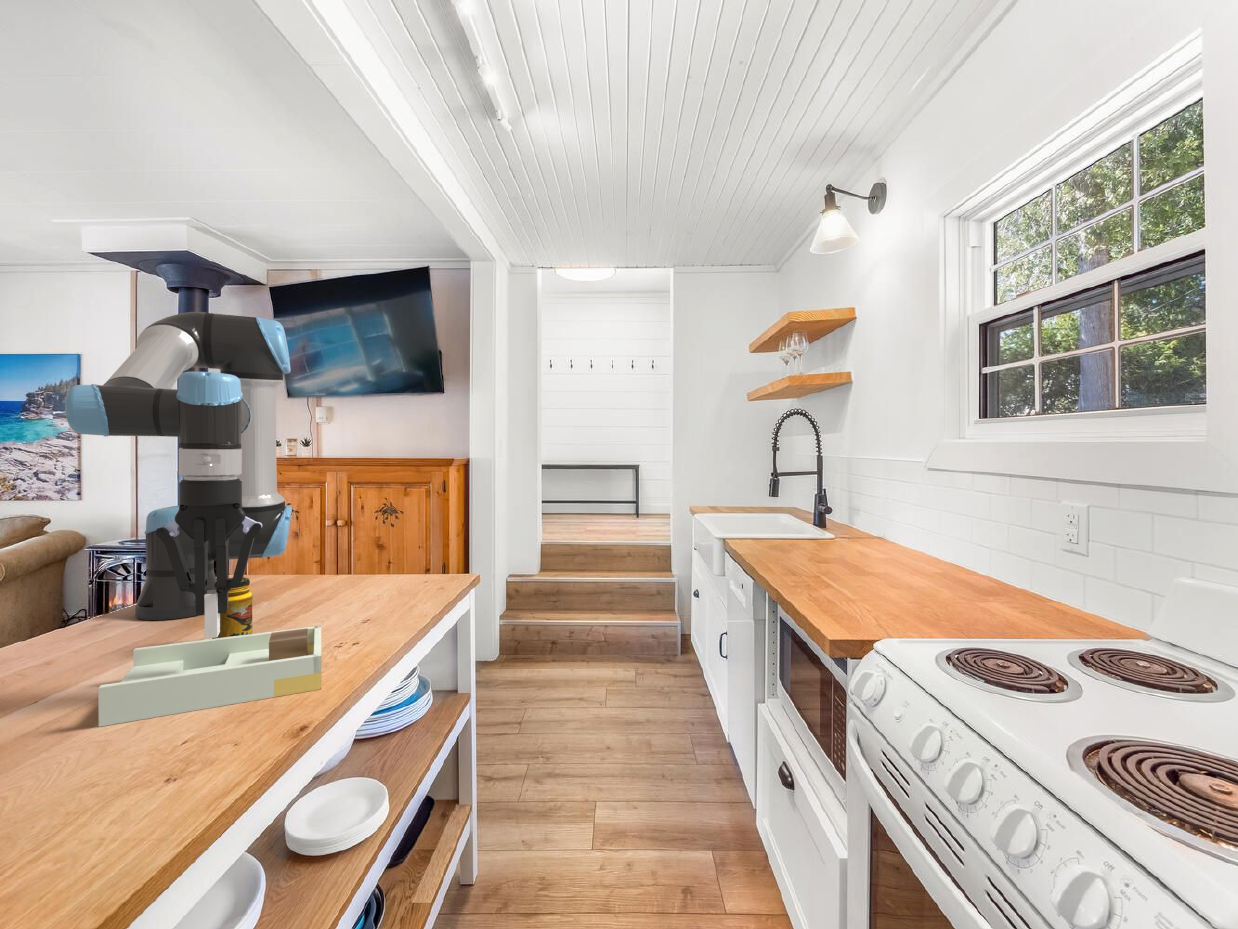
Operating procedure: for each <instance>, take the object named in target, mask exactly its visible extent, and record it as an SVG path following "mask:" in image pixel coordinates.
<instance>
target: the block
mask: <svg viewBox="0 0 1238 929" xmlns="http://www.w3.org/2000/svg"><path fill="white" fill-rule="evenodd" d="M305 628H306V627H305ZM297 629H298V628H297ZM289 630H290V629H289ZM280 631H281V632H274V631H272V632H273V633H271V637H270V640H269V661H273V660H280V659H287V658H294V657H301V656H308V628H306V629H298V630H290V631H282V630H280Z"/></svg>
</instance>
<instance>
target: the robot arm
mask: <svg viewBox="0 0 1238 929" xmlns="http://www.w3.org/2000/svg"><path fill="white" fill-rule="evenodd" d="M191 368H200V369H201V368H202V369H213V370H219V371H220V372H212V371H211V372H210V371H187V370H190V369H191ZM291 368H292V367H291V358H290V352H289V347H288V342H287V336H286V332H285V328H284V326H283V325H282V323H280V322H279V321H278V320H274V319H268V318H262V317H259V316H255V317H254V316H243V315H235V314H233V315H232V314H225V313H224V314H223V313H213V312H206V311H205V312H204V311H189V312H181V313H177V314H173V315H169V316H166V317H164V318H161V319H159V320H157V321H155V322H153V323H151V324H150V325H148V326H146V327H145V328H144V329H143V330H142V331H141V332H140V334H139V336H138V337H137V340H136V348H135V349H134V351H132V353H130V355H128V357H127V358H126V360H125V361H124V362H122V364H121V365H120V366H119V367H118V368H117V369H116V371H114V373H113V374H112V375H111V376H110V377H109V378H108V379H107V380H106V381H105V382H104V383H103V384H102V385H101V384H100V385H99V384H96V383H91V384H77V385H73V386H72V387H71V388H69V390H68V391H67V394H66V397H65V401H64V402H65V403H64V408H65V409H64V410H65V417H66V421H67V423H68V426H69V428H71V430H72V431H74V432H75V433H76V434H80V435H91V436H103V437H173V438H175V437H176V438H177V437H178V475H179V476H181V477H183V479H181V480H180V481H179V482H178V505H172V506H167V507H162V508H157V509H153V510H152V511H150V512H149V513H148V514H147V516H146V523H145V531H144V535H145V569H146V570H145V575H146V576H145V577H146V578H145V581H144V583H143V586H142V589H141V591H140V595H139V596H138V599H137V601H136V604H135V608H134V609H135V615H134V616H135V618H136V619H138V620H145V621H164V620H165V621H166V620H176V619H183V618H185V619H186V618H190V617H194V616H204V640H208V639H212V638H216V637H218V635H219V633H220V613H226V611H227V609H228V590H230V589H232V588H234V587H238V586H240V584H241V582H242V580H243V578H245V573H246V570H247V565H248V562H249V559H264V558H270V557H278V556H282V555H283V554H284V553H285V552H286V549H287V546H288V538H289V533H290V529H291V528H290V526H291V520H292V512H293V507H292V506H291V505H290V506H289V505H285V504H286V503H285V502H286V500H285V497H284V496H282V495H281V494H280V493H279V492H278V477H277V476H278V474H277V470H278V468H277V462H278V461H277V412H276V411H277V408H276V406H277V404H276V403H277V402H276V401H277V400H276V394H277V393H276V389H277V387H278V386H279V385H281V384H282V383H283V382H284V375H287V374H290V373H291ZM184 371H186V372H184ZM177 381H178V385H177V387H178V388H176V389H174V388H173V387H174V385H175V384H176V382H177ZM230 560H231V561H232V560H237V562H236V564H235V569H234V573H233V576H232V577H230V576H229V573H230V572H229V571H230V570H229V564H230V563H229V561H230ZM214 562H215V563H216V564H215V565H216V566H214ZM214 567H216V569H215V568H214ZM214 569H215V570H216V572H215V571H214ZM215 573H216V574H215ZM229 578H231V579H229ZM215 582H217V589H216V590H215V586H214V585H215Z"/></svg>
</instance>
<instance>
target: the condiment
mask: <svg viewBox="0 0 1238 929" xmlns="http://www.w3.org/2000/svg"><path fill="white" fill-rule="evenodd" d="M231 578H232V577H229V579H231ZM250 580H251V579H249V577H248V578H247V577H243V580H242V582H241V584H240V586H238V587H234V588H232V589H230V590H228V609H227V611H226V613H220V633H219V635H218V637H216V638H224V637H232V636H241V635H249V634H254V632H253V594H252V592H251V591H250V590H251V587H250V584H251V581H250ZM214 586H215V590H216V589H217V582H215V585H214ZM216 638H211V639H216Z"/></svg>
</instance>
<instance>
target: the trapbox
mask: <svg viewBox="0 0 1238 929" xmlns="http://www.w3.org/2000/svg"><path fill="white" fill-rule="evenodd" d="M306 628H308V656H301V657H294V658H287V659H280V660H273V661H269V640H270V637H271V633H273V632H281V631H290V630H298V629H306ZM132 654H133V658H132V659H133V660H132V661H133V662H132V663H133V666H132V668H131V669H130V670H129V672H128V673H127V674H126V675H125V676H124V677H123V678H122V680H120V682H113V683H106V684H100V685H99V686H98V689H97V690H98V691H97V692H98V693H97V694H98V695H97V696H98V704H97V705H98V727H99V728H100V727H105V726H112V725H118V724H122V723H123V724H124V723H129V722H134V721H141V720H146V719H151V718H152V719H153V718H160V717H165V716H171V715H177V714H183V713H188V712H194V711H200V710H206V709H207V710H208V709H212V708H217V707H223V706H230V705H235V704H242V703H247V702H248V703H249V702H254V701H261V700H264V699H270V698H278V697H282V696H289V695H290V696H291V695H295V694H301V693H305V692H314V691H317V690H322V625H317V626H307V627H299V628H291V629H284V630H283V629H282V630H274V631H266V632H260V633H253V634H249V635H241V636H232V637H224V638H216V639H212V638H208V639H202V640H201V639H200V640H192V641H186V642H177V643H176V642H175V643H169V644H161V645H160V644H159V645H151V646H143V647H136V648H134V649H133V651H132Z"/></svg>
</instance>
